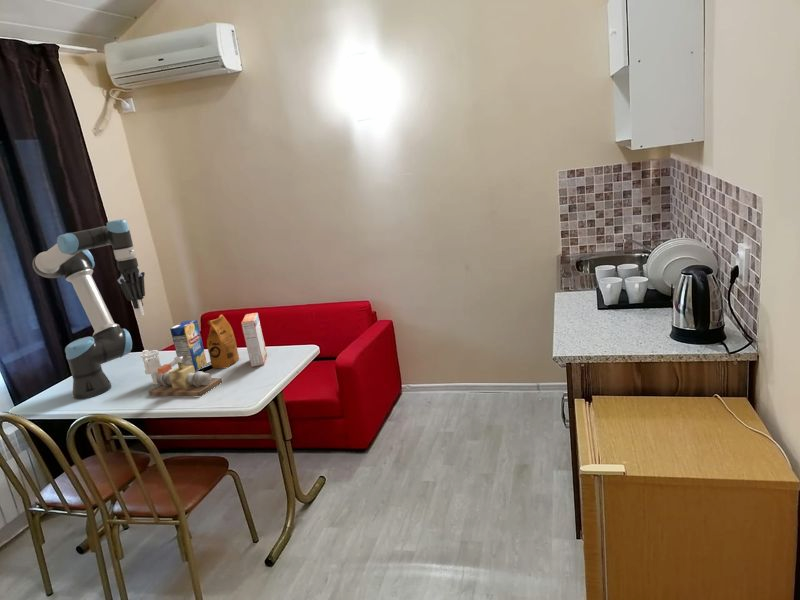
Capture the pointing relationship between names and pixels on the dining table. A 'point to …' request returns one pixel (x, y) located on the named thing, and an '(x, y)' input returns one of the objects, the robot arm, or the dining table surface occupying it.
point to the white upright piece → (151, 363)
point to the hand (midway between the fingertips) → (140, 315)
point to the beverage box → (189, 344)
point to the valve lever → (170, 365)
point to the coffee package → (221, 343)
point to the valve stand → (184, 382)
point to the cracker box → (254, 339)
